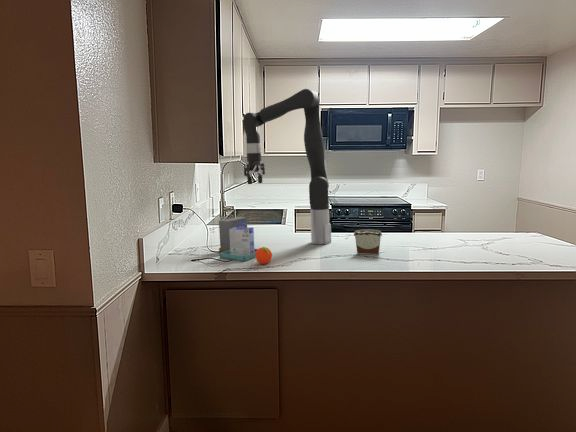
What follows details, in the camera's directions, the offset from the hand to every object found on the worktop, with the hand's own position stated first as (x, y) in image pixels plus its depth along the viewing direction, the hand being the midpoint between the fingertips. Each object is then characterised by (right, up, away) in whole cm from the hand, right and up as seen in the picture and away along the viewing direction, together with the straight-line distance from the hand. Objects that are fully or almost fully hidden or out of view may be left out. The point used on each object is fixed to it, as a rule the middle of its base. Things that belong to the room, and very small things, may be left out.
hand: (255, 183), depth 214 cm
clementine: (+8, -37, -46) cm, 59 cm away
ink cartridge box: (-3, -35, -31) cm, 47 cm away
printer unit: (-8, -33, -18) cm, 39 cm away
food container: (+53, -33, -33) cm, 71 cm away
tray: (-3, -35, -31) cm, 47 cm away
